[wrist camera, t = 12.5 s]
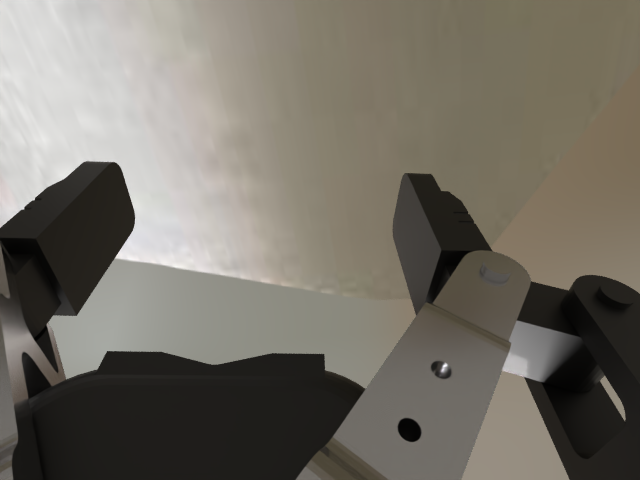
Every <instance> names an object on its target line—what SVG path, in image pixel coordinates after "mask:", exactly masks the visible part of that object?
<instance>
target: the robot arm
mask: <svg viewBox="0 0 640 480" xmlns="http://www.w3.org/2000/svg"><path fill="white" fill-rule="evenodd" d="M24 208H25V209H24V210H21V211H20V212H18V213H17V214H16V215H15V216H14V217H13V218H11V219H10V220H9V221H8V222H7V223H6V224H4V225H3V226H2V227H1V228H0V480H461V478H462V476H463V473H464V470H465V468H466V465H467V462H468V460H469V457H470V455H471V452H472V449H473V447H474V444H475V441H476V439H477V436H478V433H479V431H480V428H481V425H482V423H483V420H484V417H485V415H486V412H487V409H488V406H489V404H490V401H491V399H492V396H493V393H494V391H495V388H496V385H497V383H498V380H499V377H500V375H501V372H502V371H506V372H509V373H513V374H516V375H519V376H523V377H524V378H525V380H526V382H527V384H528V387H529V389H530V391H531V394H532V396H533V398H534V400H535V403H536V405H537V407H538V409H539V412H540V414H541V416H542V418H543V420H544V423H545V425H546V427H547V430H548V431H549V434H550V436H551V439H552V441H553V443H554V445H555V447H556V450H557V452H558V454H559V456H560V459H561V461H562V463H563V466H564V468H565V470H566V472H567V475H568V477H569V479H570V480H640V294H639V293H638V292H637V291H635V290H634V289H632V288H630V287H629V286H627V285H625V284H623V283H621V282H618V281H616V280H613V279H610V278H607V277H603V276H596V275H585V276H581V277H579V278H577V279H576V280H575V282H574V283H573V285H572V286H571V288H570V289H569V291H568V290H564V289H559V288H556V287H551V286H547V285H543V284H539V283H535V282H532V281H531V279H530V276H529V274H528V272H527V271H526V270H525V268H524V267H523V266H522V265H520V264H519V263H518V262H516V261H515V260H513V259H512V258H510V257H508V256H505V255H503V254H500V253H497V252H493V251H492V250H491V248H490V246H489V245H488V243H487V242H486V240H485V238H484V237H483V235H482V234H481V232H480V230H479V229H478V227H477V226H476V224H474V221H473V219H472V217H471V216H470V214H468V211H467V209H466V208H465V206H464V205H463V203H462V201H460V200H459V199H458V198H456V197H455V196H454V195H452V194H451V193H450V192H448V191H441V190H440V188H439V186H438V184H437V183H436V181H435V179H434V177H433V176H432V175H431V174H416V173H405V174H404V175H403V177H402V180H401V185H400V190H399V194H398V199H397V204H396V209H395V214H394V219H393V238H394V242H395V245H396V249H397V252H398V256H399V259H400V262H401V266H402V269H403V273H404V276H405V279H406V283H407V286H408V290H409V293H410V296H411V300H412V303H413V306H414V310H415V313H416V317H415V319H414V320H413V321H412V323H411V324H410V326H409V327H408V329H407V330H406V332H405V333H404V334H403V336H402V337H401V339H400V340H399V342H398V343H397V345H396V346H395V347H394V349H393V350H392V352H391V353H390V355H389V356H388V358H387V359H386V360H385V362H384V363H383V365H382V366H381V368H380V369H379V371H378V372H377V374H376V375H375V376H374V378H373V379H372V381H371V382H370V384H369V385H368V387H367V388H366V389H365V388H363V387H362V386H360V385H359V384H357V383H356V382H353V381H351V380H350V379H348V378H346V377H343V376H341V375H338V374H336V373H333V372H329V371H325V361H324V354H277V353H275V354H274V353H272V354H267V355H262V356H258V357H253V358H248V359H243V360H238V361H233V362H229V363H224V364H219V365H211V364H206V363H202V362H198V361H194V360H190V359H186V358H183V357H179V356H175V355H171V354H167V353H163V352H123V351H121V352H119V351H114V352H113V351H107V353H106V354H105V357H104V358H103V360H102V362H101V364H100V366H99V368H98V369H97V370H94V371H90V372H87V373H84V374H80V375H77V376H74V377H72V378H69V379H67V380H66V377H65V373H64V369H63V366H62V362H61V358H60V355H59V351H58V347H57V344H56V340H55V336H54V333H53V330H52V328H51V326H50V325H49V323H48V322H49V320H50V319H51V317H52V316H53V315H63V316H67V315H68V316H77V314H78V313H79V311H80V310H81V308H82V307H83V305H84V304H85V302H86V301H87V299H88V298H89V296H90V295H91V293H92V292H93V290H94V289H95V287H96V286H97V284H98V282H99V281H100V279H101V278H102V276H103V275H104V273H105V272H106V270H107V269H108V267H109V266H110V264H111V263H112V261H113V260H114V258H115V257H116V255H117V254H118V252H119V251H120V249H121V248H122V246H123V245H124V243H125V242H126V240H127V239H128V237H129V236H130V234H131V233H132V231H133V228H134V224H135V213H134V209H133V205H132V202H131V199H130V196H129V192H128V189H127V186H126V183H125V179H124V176H123V173H122V170H121V168H120V166H119V165H118V164H117V163H115V162H90V161H86V162H83V163H82V164H81V165H80V166H79V167H78V168H76V169H75V170H74V171H73V172H72V173H71V174H70V175H69V176H67V177H66V178H65V179H64V180H62V181H60V182H58V183H55V184H53V185H51V186H49V187H47V188H46V189H45V190H44V191H43V192H42V193H40V194H39V195H38V196H37V197H36V198H35V201H33V200H32V201H31V202H30V203H29V204H28V205H26V206H25V207H24ZM604 375H605V376H606V378H607V379H608V381H609V382H610V384H611V386H612V387H613V389H614V390H615V392H616V393H617V395H618V397H619V398H620V400H621V402H622V404H623V406H624V410H625V416H626V420H625V421H624V420H623V418H622V416H621V415H620V413H619V411H618V410H617V408H616V406H615V405H614V403H613V402H612V400H611V399H610V397H609V395H608V394H607V392H606V390H605V389H604V387H603V386H602V384H601V382H600V380H601V379H602V378H603V377H604Z"/></svg>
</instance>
